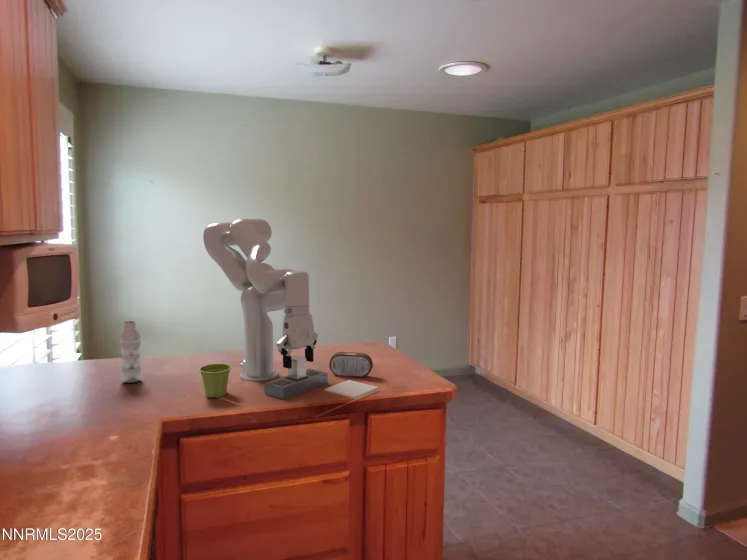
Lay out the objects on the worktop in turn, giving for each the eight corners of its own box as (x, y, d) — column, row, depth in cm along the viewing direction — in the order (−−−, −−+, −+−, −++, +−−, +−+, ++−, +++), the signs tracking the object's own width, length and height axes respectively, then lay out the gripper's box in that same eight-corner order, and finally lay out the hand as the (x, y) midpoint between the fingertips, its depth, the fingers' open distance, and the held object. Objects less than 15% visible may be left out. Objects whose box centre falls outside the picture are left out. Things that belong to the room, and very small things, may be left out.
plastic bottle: (134, 377, 181) (131, 319, 178) (147, 381, 177) (144, 321, 175) (116, 382, 175) (113, 322, 173) (129, 386, 172) (126, 325, 170)
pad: (324, 391, 169) (324, 388, 169) (348, 382, 178) (348, 379, 178) (354, 400, 162) (354, 396, 162) (377, 390, 171) (377, 387, 171)
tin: (372, 376, 186) (373, 352, 185) (371, 378, 183) (372, 354, 182) (330, 374, 188) (330, 350, 187) (328, 376, 185) (328, 353, 184)
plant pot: (211, 402, 158) (210, 374, 157) (193, 395, 164) (193, 367, 163) (237, 394, 165) (237, 367, 164) (220, 388, 171) (219, 361, 170)
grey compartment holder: (264, 395, 165) (264, 382, 164) (309, 380, 181) (309, 368, 180) (283, 401, 160) (283, 387, 160) (327, 384, 176) (327, 372, 176)
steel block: (288, 388, 170) (288, 358, 169) (297, 385, 173) (297, 355, 172) (297, 391, 168) (297, 360, 166) (306, 388, 171) (306, 357, 170)
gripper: (285, 315, 158) (287, 372, 160) (324, 308, 172) (325, 360, 174) (268, 313, 163) (269, 368, 164) (307, 306, 176) (308, 357, 178)
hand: (298, 364), depth 169 cm, fingers open, 9 cm apart
